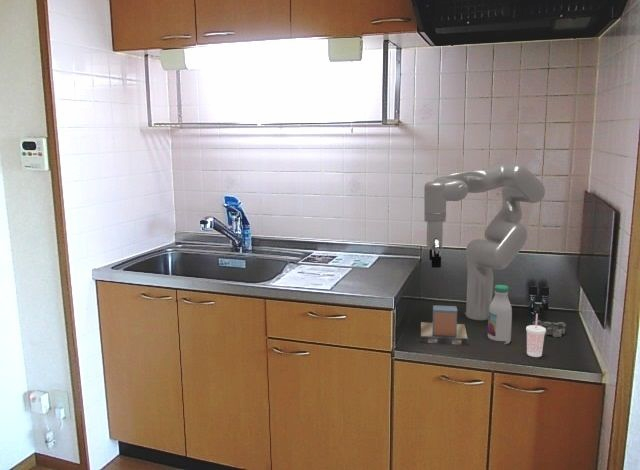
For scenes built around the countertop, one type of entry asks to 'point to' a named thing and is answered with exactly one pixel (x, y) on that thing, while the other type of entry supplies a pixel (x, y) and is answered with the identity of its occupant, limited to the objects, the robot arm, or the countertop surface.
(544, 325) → the egg carton
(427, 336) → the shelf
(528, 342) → the beverage cup
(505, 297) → the milk bottle
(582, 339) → the countertop surface
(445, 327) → the carton
